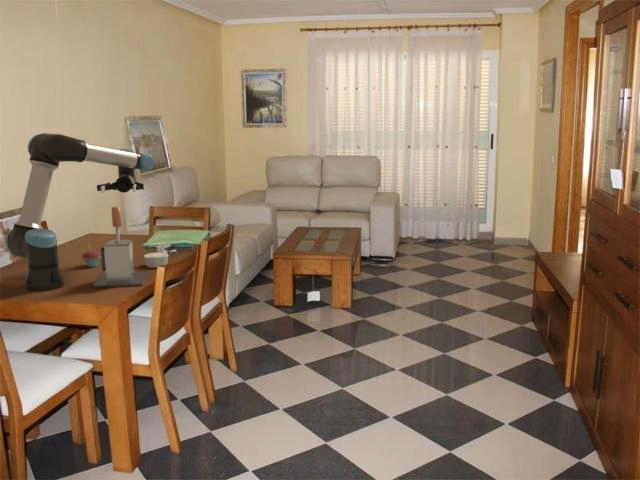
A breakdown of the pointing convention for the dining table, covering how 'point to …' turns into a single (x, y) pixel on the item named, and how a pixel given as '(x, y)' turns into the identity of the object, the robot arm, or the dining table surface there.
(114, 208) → the salmon orange cylinder
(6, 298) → the dining table surface
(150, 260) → the ramekin
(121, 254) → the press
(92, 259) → the cupcake
